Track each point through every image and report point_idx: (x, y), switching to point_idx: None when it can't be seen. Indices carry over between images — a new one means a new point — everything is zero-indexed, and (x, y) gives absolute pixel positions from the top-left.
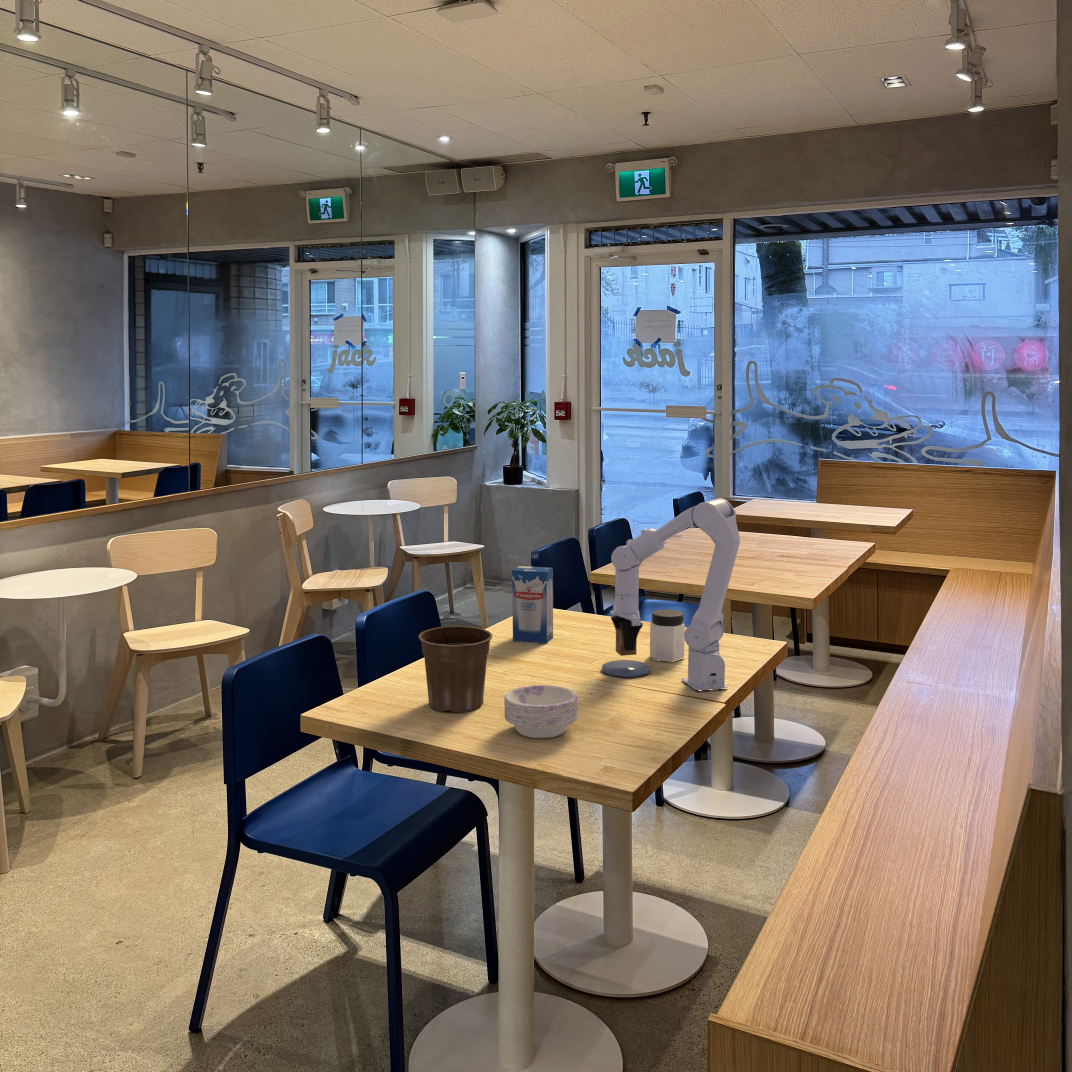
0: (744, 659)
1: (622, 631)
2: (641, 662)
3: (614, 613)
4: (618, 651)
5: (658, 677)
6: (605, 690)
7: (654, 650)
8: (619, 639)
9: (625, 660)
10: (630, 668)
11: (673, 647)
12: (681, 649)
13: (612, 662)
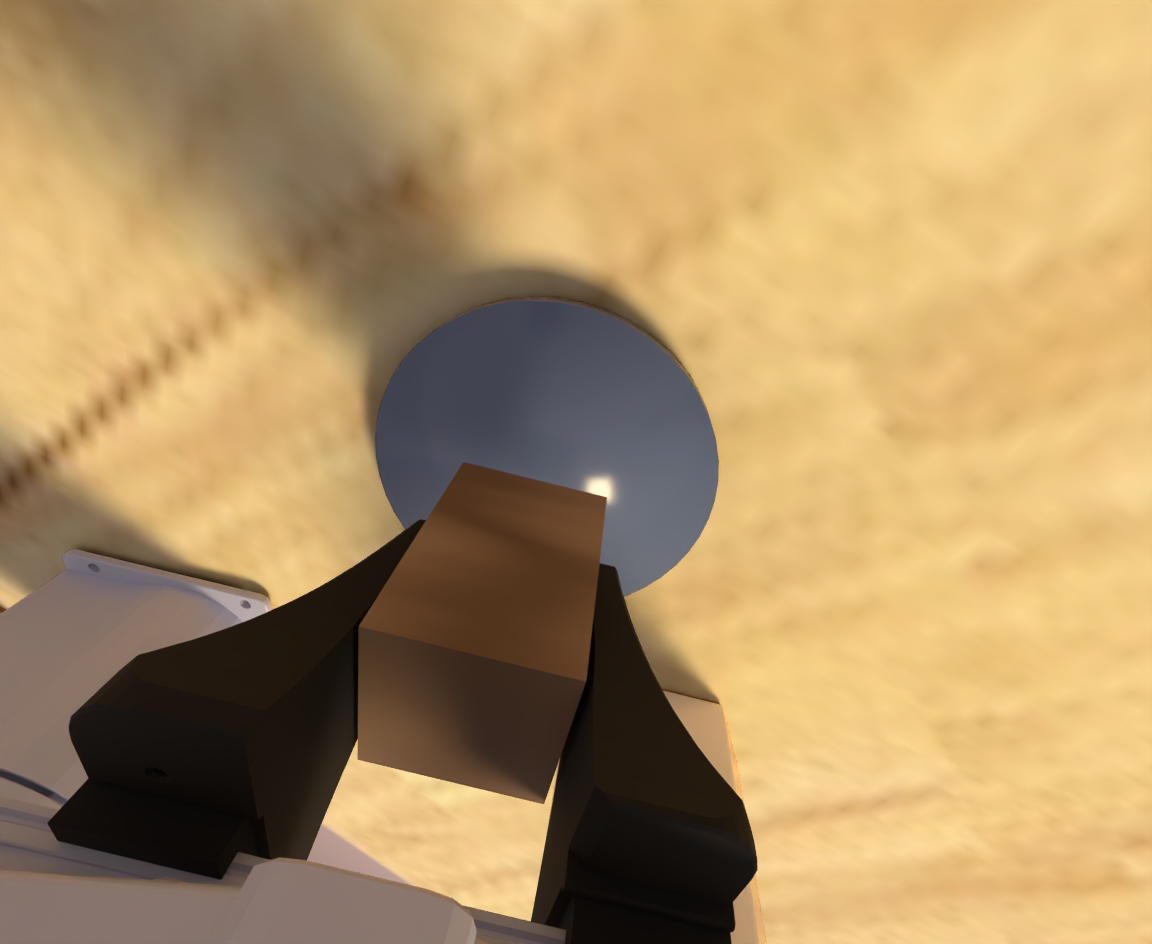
0: (476, 878)
1: (306, 633)
2: None
3: (218, 941)
4: (526, 489)
5: (356, 540)
6: (140, 41)
7: None
8: (467, 562)
9: (675, 551)
10: None
11: (552, 800)
12: None
13: (685, 459)
